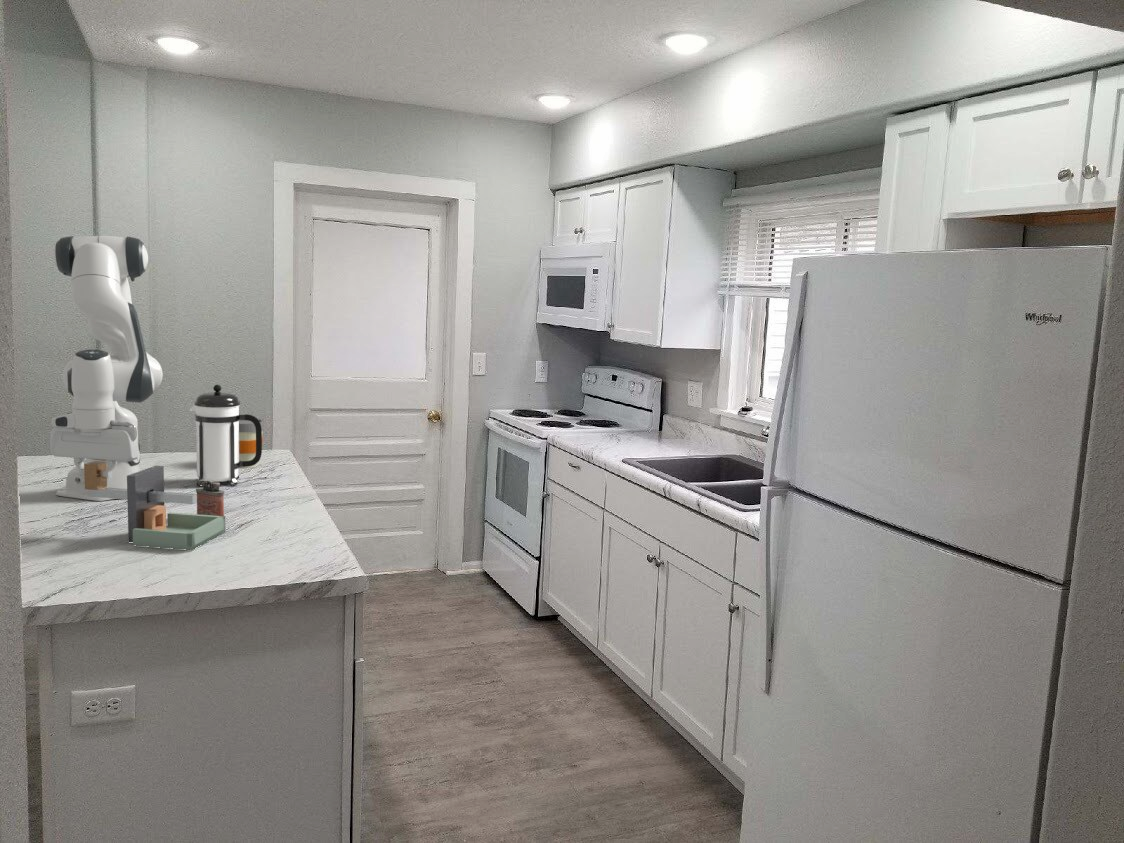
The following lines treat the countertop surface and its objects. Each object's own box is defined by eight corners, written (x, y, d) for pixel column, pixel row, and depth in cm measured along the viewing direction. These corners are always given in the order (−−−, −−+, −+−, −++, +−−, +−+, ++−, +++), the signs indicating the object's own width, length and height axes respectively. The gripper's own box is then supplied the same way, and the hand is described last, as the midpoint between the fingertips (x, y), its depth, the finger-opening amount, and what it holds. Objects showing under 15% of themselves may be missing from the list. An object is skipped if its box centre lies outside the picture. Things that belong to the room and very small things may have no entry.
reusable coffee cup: (256, 470, 285) (256, 424, 283) (217, 468, 285) (217, 422, 283) (269, 462, 297) (269, 419, 295) (232, 460, 298) (232, 417, 295)
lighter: (227, 518, 227) (227, 481, 225) (218, 521, 224) (218, 483, 222) (202, 514, 229) (202, 477, 228) (193, 517, 226) (192, 480, 225)
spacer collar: (144, 536, 205) (143, 511, 204) (158, 529, 211) (157, 505, 210) (152, 536, 205) (151, 511, 204) (166, 529, 211) (165, 505, 210)
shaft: (85, 497, 206) (84, 464, 205) (95, 493, 210) (94, 461, 209) (190, 505, 204) (190, 471, 203) (199, 501, 208) (198, 468, 207)
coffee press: (215, 491, 255) (214, 389, 250) (181, 482, 263) (179, 383, 259) (263, 481, 269) (263, 385, 265) (230, 474, 278) (229, 380, 273)
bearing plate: (128, 543, 202) (126, 475, 200) (157, 529, 214) (155, 465, 212) (136, 543, 202) (135, 476, 200) (164, 530, 214) (163, 466, 212)
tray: (133, 546, 200) (132, 529, 200) (170, 528, 216) (170, 512, 215) (192, 550, 199) (192, 534, 198) (225, 532, 215) (225, 516, 214)
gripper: (143, 420, 208) (145, 477, 210) (62, 415, 209) (64, 471, 211) (128, 424, 201) (129, 482, 203) (44, 418, 203) (46, 476, 205)
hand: (95, 477), depth 207 cm, fingers open, 4 cm apart
